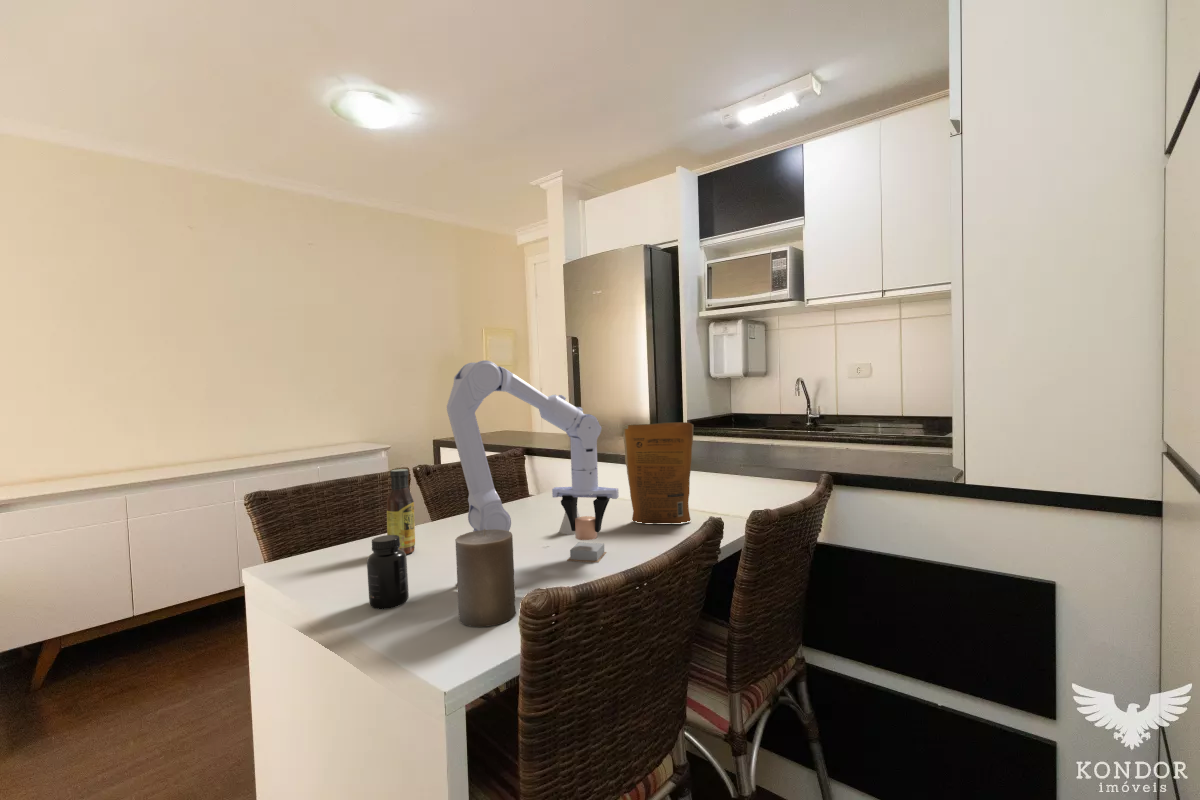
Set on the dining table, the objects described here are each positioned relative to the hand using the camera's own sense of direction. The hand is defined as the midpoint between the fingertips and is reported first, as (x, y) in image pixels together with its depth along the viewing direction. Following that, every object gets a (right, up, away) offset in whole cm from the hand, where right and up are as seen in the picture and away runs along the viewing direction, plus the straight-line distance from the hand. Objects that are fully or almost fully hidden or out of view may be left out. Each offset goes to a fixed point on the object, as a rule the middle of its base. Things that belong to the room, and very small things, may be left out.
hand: (586, 530), depth 121 cm
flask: (-4, -7, +22) cm, 23 cm away
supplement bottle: (-36, -9, -19) cm, 42 cm away
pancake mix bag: (+20, -6, +32) cm, 38 cm away
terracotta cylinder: (0, -1, 0) cm, 1 cm away
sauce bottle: (-44, -8, +12) cm, 47 cm away
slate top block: (0, -6, 0) cm, 6 cm away
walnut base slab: (0, -8, 0) cm, 8 cm away
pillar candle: (-16, -9, -26) cm, 32 cm away
